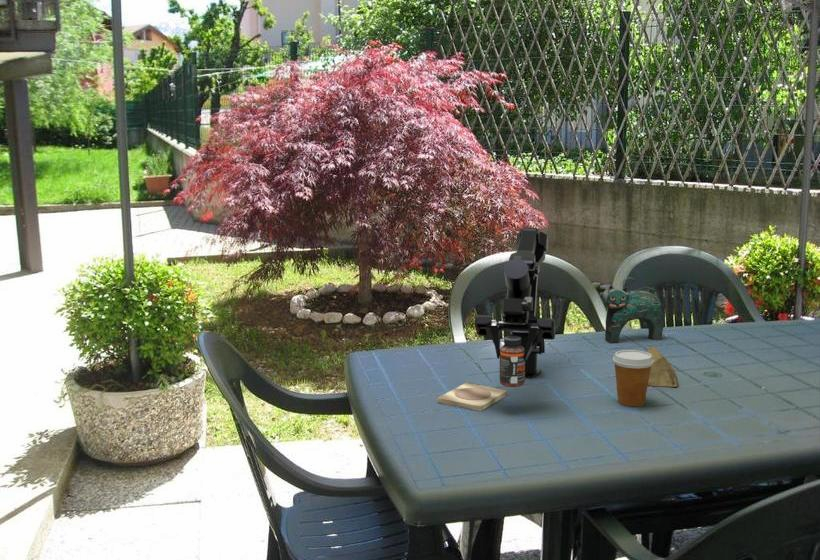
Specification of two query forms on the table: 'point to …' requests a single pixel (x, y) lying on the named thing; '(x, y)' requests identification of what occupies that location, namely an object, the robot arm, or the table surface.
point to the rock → (661, 370)
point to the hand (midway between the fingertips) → (511, 358)
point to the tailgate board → (472, 396)
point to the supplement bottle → (512, 362)
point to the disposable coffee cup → (632, 376)
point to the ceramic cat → (632, 311)
